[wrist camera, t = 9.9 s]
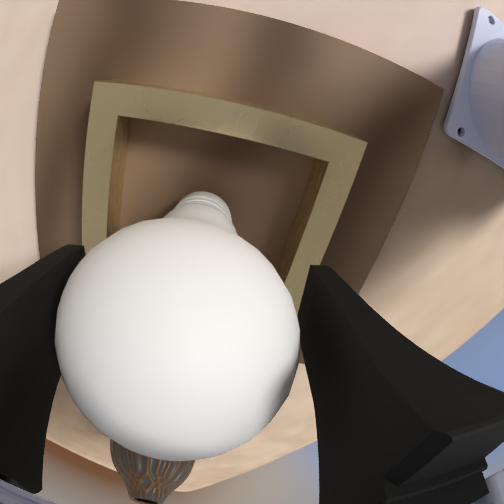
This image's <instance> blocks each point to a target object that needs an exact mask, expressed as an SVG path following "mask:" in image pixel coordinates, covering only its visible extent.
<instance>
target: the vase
mask: <svg viewBox="0 0 504 504" xmlns="http://www.w3.org/2000/svg"><path fill="white" fill-rule="evenodd" d="M110 451H111V457H112V461H113V464H114V466H115V468H116V470H117V472H118V474H119V475H120V477H121V479H122V480H123V482H124V484H125V486H126V488H127V490H128V494H129V497H130V499H131V500H133V501H134V502H137V503H140V504H163V502H164V501H165V499H166V498H167V496H168V495H169V494H170V493H171V492H173V491H174V490H175V489H176V488H177V487H178V486H180V485H181V484H182V483H183V482H184V481H185V480H186V479H187V477H188V476H189V474H190V472H191V470H192V468H193V465H194V462H195V460H191V461H168V460H160V459H155V458H151V457H147V456H144V455H141V454H138V453H136V452H133V451H131V450H129V449H127V448H125V447H123V446H122V445H120V444H118V443H117V442H115V441H113V440H112V439H110Z"/></svg>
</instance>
